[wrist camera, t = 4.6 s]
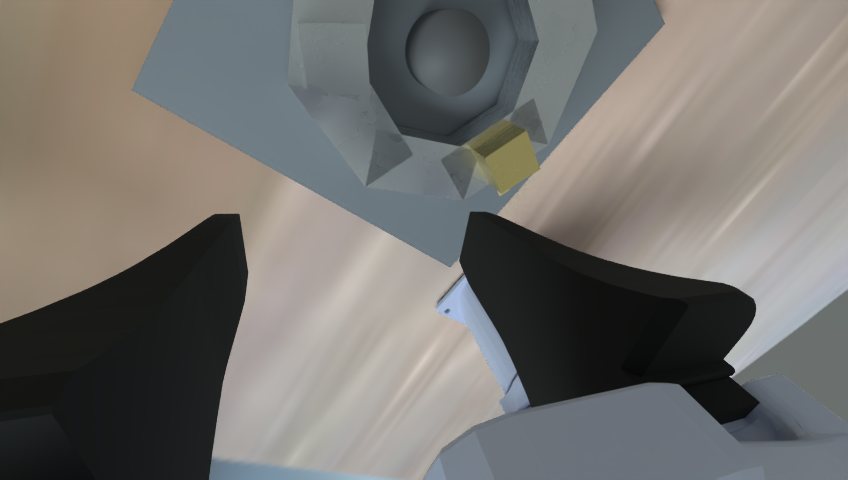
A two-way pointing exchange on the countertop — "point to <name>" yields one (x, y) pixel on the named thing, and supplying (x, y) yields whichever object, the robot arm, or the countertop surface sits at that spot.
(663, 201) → the countertop surface
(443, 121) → the slate plate
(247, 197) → the countertop surface
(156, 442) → the robot arm
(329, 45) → the ring nut
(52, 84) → the countertop surface
